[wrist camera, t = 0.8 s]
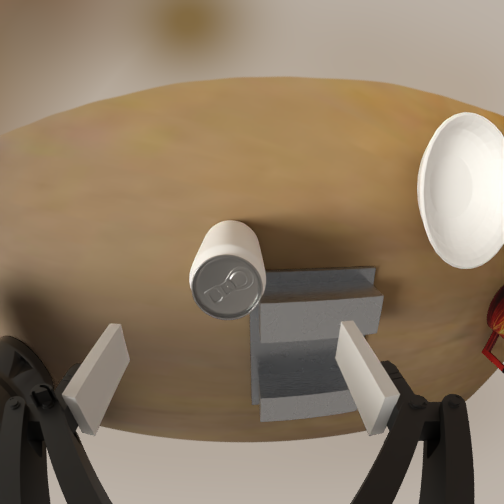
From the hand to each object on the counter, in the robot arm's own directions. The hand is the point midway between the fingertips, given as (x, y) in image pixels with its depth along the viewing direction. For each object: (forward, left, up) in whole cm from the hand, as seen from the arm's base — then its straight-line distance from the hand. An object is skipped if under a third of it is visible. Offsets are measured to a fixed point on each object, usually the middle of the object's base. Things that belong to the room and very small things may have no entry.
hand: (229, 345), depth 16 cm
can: (0, 0, -19) cm, 19 cm away
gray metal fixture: (+10, -14, -19) cm, 25 cm away
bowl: (+30, +8, -19) cm, 36 cm away
